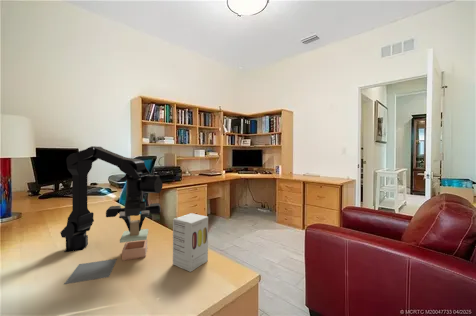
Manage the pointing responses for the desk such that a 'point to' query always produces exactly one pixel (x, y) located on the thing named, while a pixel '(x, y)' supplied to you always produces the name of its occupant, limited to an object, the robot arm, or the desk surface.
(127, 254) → the dish
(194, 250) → the supplement box
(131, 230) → the lid
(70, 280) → the mat
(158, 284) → the desk surface
